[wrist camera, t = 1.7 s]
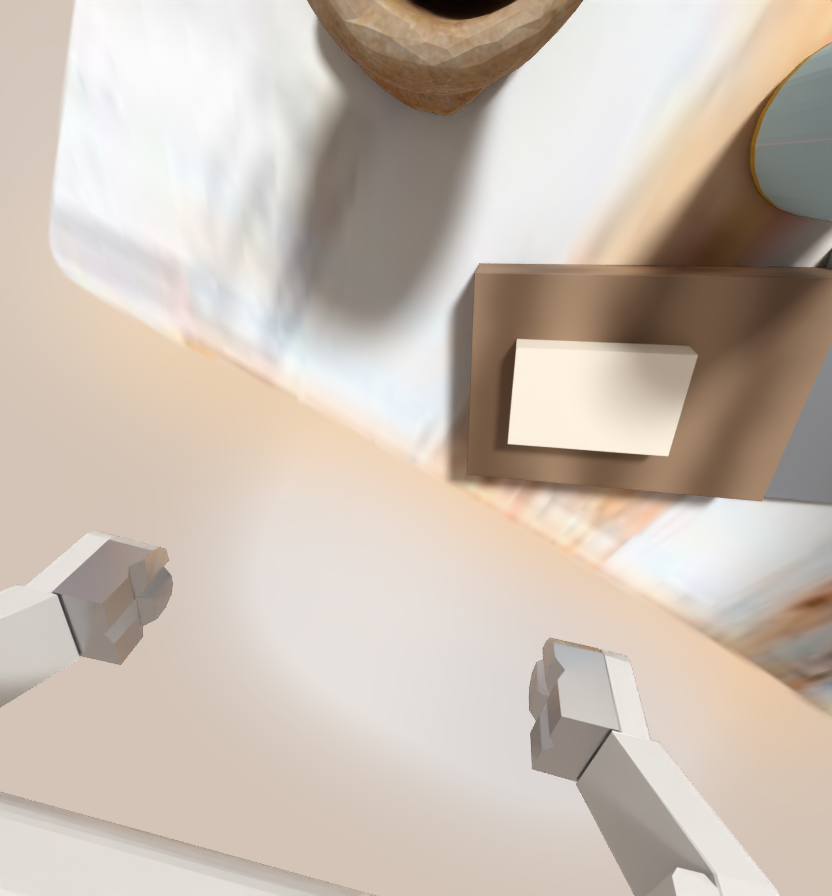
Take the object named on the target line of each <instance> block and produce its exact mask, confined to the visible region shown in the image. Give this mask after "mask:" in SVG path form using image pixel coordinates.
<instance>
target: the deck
mask: <svg viewBox="0 0 832 896" xmlns="http://www.w3.org/2000/svg"><path fill="white" fill-rule="evenodd" d="M517 339H530V340H556V341H581V342H607V343H632V344H658V345H684V346H690V347H691V348H692V349H693V350H694V351H695V353H696V354H697V355H698V357H697V360H696V364H695V367H694V370H693V374H692V377H691V381H690V384H689V387H688V391H687V394H686V398H685V401H684V404H683V408H682V411H681V415H680V418H679V421H678V425H677V428H676V431H675V435H674V438H673V442H672V445H671V448H670V452H669V455H668V456H657V455H644V454H631V453H618V452H605V451H592V450H579V449H567V448H554V447H541V446H528V445H515V444H508V431H509V420H510V409H511V398H512V387H513V375H514V364H515V353H516V342H517ZM831 343H832V270H831V269H828V268H821V267H735V266H648V265H562V264H479V266H478V268H477V270H476V272H475V286H474V311H473V335H472V360H471V385H470V409H469V434H468V459H467V475H476V476H487V477H498V478H509V479H520V480H531V481H543V482H554V483H565V484H576V485H587V486H598V487H609V488H620V489H631V490H642V491H653V492H664V493H675V494H686V495H697V496H708V497H719V498H730V499H742V500H753V501H762V500H763V498H764V496H765V493H766V491H767V489H768V487H769V484H770V482H771V480H772V477H773V475H774V473H775V471H776V468H777V466H778V464H779V462H780V459H781V457H782V455H783V452H784V450H785V448H786V446H787V443H788V441H789V439H790V437H791V434H792V432H793V430H794V427H795V425H796V423H797V421H798V418H799V416H800V414H801V412H802V409H803V407H804V405H805V402H806V400H807V398H808V396H809V393H810V391H811V389H812V386H813V384H814V382H815V380H816V377H817V375H818V373H819V371H820V368H821V366H822V364H823V361H824V359H825V357H826V355H827V352H828V350H829V348H830V346H831Z"/></svg>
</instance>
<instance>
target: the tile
mask: <svg viewBox="0 0 832 896" xmlns="http://www.w3.org/2000/svg"><path fill="white" fill-rule="evenodd" d="M697 357H698V355H697V354H696V353H695V351H694V350H693V349H692V348H691V347H690V346H684V345H658V344H632V343H607V342H581V341H556V340H530V339H517V342H516V353H515V364H514V375H513V387H512V398H511V409H510V420H509V431H508V444H515V445H528V446H541V447H554V448H567V449H579V450H592V451H605V452H618V453H631V454H644V455H657V456H668V455H669V452H670V448H671V445H672V442H673V438H674V435H675V431H676V428H677V425H678V421H679V418H680V415H681V411H682V408H683V404H684V401H685V398H686V394H687V391H688V387H689V384H690V381H691V377H692V374H693V370H694V367H695V364H696V360H697Z"/></svg>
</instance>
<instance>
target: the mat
mask: <svg viewBox="0 0 832 896" xmlns="http://www.w3.org/2000/svg"><path fill="white" fill-rule="evenodd" d="M825 268H828V269H831V270H832V252H831V255H830V257H829V260H828V262H827V265H826V267H825ZM764 497H768V498H780V499H791V500H802V501H813V502H825V503H832V343H831V346H830V348H829V350H828V352H827V355H826V357H825V359H824V361H823V364H822V366H821V368H820V371H819V373H818V375H817V377H816V380H815V382H814V384H813V386H812V389H811V391H810V393H809V396H808V398H807V400H806V402H805V405H804V407H803V409H802V412H801V414H800V416H799V418H798V421H797V423H796V425H795V427H794V430H793V432H792V434H791V437H790V439H789V441H788V443H787V446H786V448H785V450H784V452H783V455H782V457H781V459H780V462H779V464H778V466H777V468H776V471H775V473H774V475H773V477H772V480H771V482H770V484H769V487H768V489H767V491H766V493H765V496H764Z"/></svg>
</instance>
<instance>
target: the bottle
mask: <svg viewBox="0 0 832 896" xmlns="http://www.w3.org/2000/svg"><path fill="white" fill-rule="evenodd" d="M750 169H751V174H752V177H753V180H754V182H755V185H756V188H757V190H758V191H759V193H760V194H761V195H762V196H763V197H764V198H765V199H766V200H767V201H768V202H769V203H770V204H771V205H772V206H774V207H775V208H778V209H780V210H783V211H785V212H788V213H791V214H794V215H798V216H803V217H808V218H813V219H819V220H824V221H829V222H832V42H831V43H829V44H827V45H826V46H824V47H823V48H821V49H820V50H818V51H817V52H815V53H814V54H812V55H811V56H809V57H808V58H806V59H805V60H804V61H802V62H801V63H800V64H799V65H798V66H797V67H796V68H795V69H794V70H793V71H792V72H791V73H790V74H789V75H788V76H787V77H786V78H785V79H784V80H783V81H782V82H781V83H780V85H779V86H778V87H777V88H776V90H775V91H774V93H773V94H772V96H771V98H770V99H769V101H768V103H767V104H766V106H765V107H764V109H763V111H762V113H761V115H760V117H759V119H758V122H757V125H756V128H755V131H754V134H753V138H752V141H751V147H750Z"/></svg>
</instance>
